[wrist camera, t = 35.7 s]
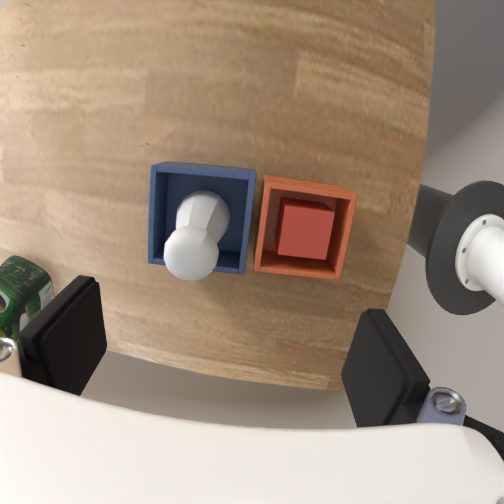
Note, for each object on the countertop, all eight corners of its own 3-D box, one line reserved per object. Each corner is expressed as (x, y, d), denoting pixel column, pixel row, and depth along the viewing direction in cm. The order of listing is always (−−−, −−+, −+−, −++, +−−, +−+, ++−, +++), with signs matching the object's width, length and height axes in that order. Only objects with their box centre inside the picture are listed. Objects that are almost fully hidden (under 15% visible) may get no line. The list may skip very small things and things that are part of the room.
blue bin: (255, 169, 34) (256, 174, 29) (245, 255, 38) (244, 274, 32) (165, 161, 34) (151, 165, 29) (161, 246, 37) (147, 263, 32)
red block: (324, 202, 35) (335, 212, 30) (316, 244, 37) (325, 260, 32) (280, 196, 35) (285, 205, 30) (274, 239, 36) (277, 254, 32)
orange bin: (342, 186, 35) (357, 195, 30) (328, 261, 38) (339, 280, 33) (263, 175, 34) (265, 181, 29) (253, 252, 37) (253, 271, 32)
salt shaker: (236, 228, 36) (236, 286, 24) (189, 240, 36) (167, 300, 25) (223, 179, 34) (214, 215, 22) (173, 192, 34) (140, 234, 22)
